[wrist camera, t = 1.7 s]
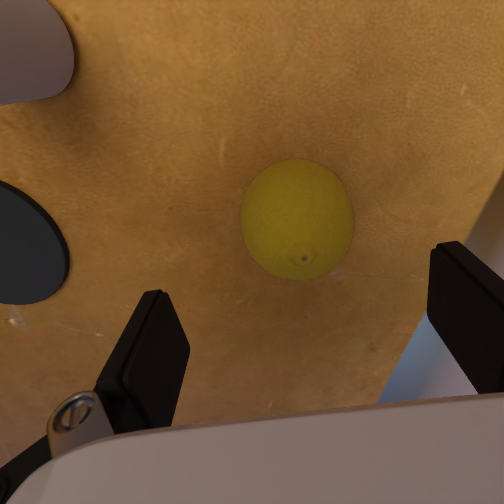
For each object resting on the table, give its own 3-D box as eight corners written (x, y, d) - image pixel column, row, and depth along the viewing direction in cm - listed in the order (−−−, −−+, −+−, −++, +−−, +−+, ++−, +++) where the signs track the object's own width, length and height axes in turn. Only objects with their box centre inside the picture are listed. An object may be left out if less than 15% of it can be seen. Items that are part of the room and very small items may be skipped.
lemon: (323, 235, 21) (353, 318, 14) (240, 225, 21) (228, 305, 14) (345, 149, 18) (396, 201, 11) (249, 138, 18) (240, 182, 11)
